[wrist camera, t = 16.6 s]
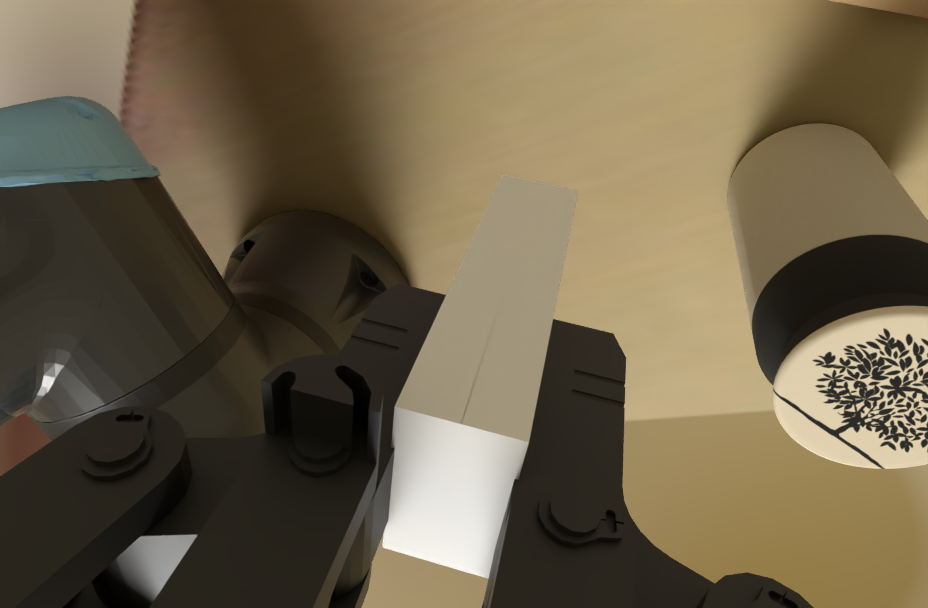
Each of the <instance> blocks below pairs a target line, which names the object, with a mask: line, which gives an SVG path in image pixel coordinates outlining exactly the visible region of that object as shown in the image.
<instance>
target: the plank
mask: <svg viewBox="0 0 928 608" xmlns="http://www.w3.org/2000/svg"><path fill="white" fill-rule="evenodd" d="M829 1H834V2H840V3H846V4H851V5H857V6H862V7H868V8H874V9H879V10H885V11H890V12H896V13H902V14H907V15H913V16H918V17H924V18H928V0H829Z"/></svg>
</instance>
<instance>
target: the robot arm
mask: <svg viewBox="0 0 928 608" xmlns="http://www.w3.org/2000/svg"><path fill="white" fill-rule="evenodd" d="M160 175H161V174H160V172H159V170H158V168H157V167H154V166H152V165H150V164H149V162H148V161H147V160H146V158H145V157H144V155H143V154H142V153H141V151H140V150H139V149H138V147H137V146H136V144H135V143H134V142H133V140H132V139H131V137H130V136H129V135H128V133H127V132H126V130H125V129H124V127H123V126H122V125H121V123H120V122H119V120H118V119H117V118H116V117H115V116H114V114H112V112H110V111H109V110H108V109H107V108H106V107H104V106H102V105H101V104H99V103H97V102H95V101H93V100H90V99H87V98H83V97H74V96H73V97H72V96H62V97H54V98H47V99H42V100H37V101H32V102H27V103H22V104H18V105H12V106H8V107H3V108H0V427H1V426H3V425H4V424H6V423H7V422H9V421H10V420H12V419H13V418H15V417H17V416H18V415H20V414H23V413H26V414H27V415H28V416H29V417H30V418H31V419H32V420H33V421H34V422H35V424H36V425H37V426H38V427H39V428H40V429H41V430H42V431H43V432H44V433H45V434H46V435H47V436H48V437H49V438H50V439H51V440H52V441H51V442H50V443H49V444H47V445H46V446H44V447H43V448H41V449H40V450H38V451H37V452H35V453H34V454H32V455H31V456H30V457H28V458H27V459H25V460H24V461H22V462H21V463H19V464H18V465H17V466H15V467H14V468H12V469H11V470H9V471H8V472H6V473H5V474H3V475H2V476H0V608H361V607H362V604H363V602H364V599H365V596H366V594H367V591H368V588H369V581H370V575H371V566H372V561H373V558H374V556H375V553H376V550H377V548H378V545H379V543H380V540H381V538H382V535H383V532H384V537H383V548H387V549H390V550H393V551H397V552H400V553H403V554H407V555H410V556H413V557H417V558H420V559H424V560H427V561H430V562H434V563H437V564H441V565H444V566H447V567H451V568H455V569H458V570H461V571H464V572H468V573H471V574H474V575H478V576H482V577H485V578H488V584H487V588H486V593H485V597H484V602H483V605H482V608H813V607H812V606H811V605H810V604H809V603H808V602H807V601H806V600H805V599H804V598H803V597H802V596H801V595H800V594H798V593H797V592H795V591H793V590H791V589H789V588H787V587H786V586H784V585H782V584H781V583H779V582H777V581H775V580H774V579H771V578H767V577H762V576H759V575H755V574H751V573H741V574H734V575H726V576H724V577H723V578H722V579H720V580H719V581H718V582H716V583H715V584H714V583H713V582H711V581H709V580H707V579H706V578H704V577H703V576H701V575H699V574H698V573H696V572H694V571H693V570H691V569H689V568H687V567H686V566H684V565H682V564H681V563H679V562H677V561H676V560H674V559H672V558H671V557H669V556H668V555H667V554H665V553H663V552H662V551H661V550H660V549H658V548H657V547H655V546H654V545H653V544H652V543H651V542H650V541H649V540H648V539H647V538H646V537H645V536H644V535H643V534H642V533H641V532H640V530H639V529H638V527H637V526H636V524H635V523H634V521H633V520H632V518H631V517H630V514H629V512H628V509H627V507H626V504H625V502H624V497H623V488H622V476H623V442H624V440H623V438H624V403H625V387H624V385H625V372H626V357H625V355H624V353H623V351H622V349H621V348H620V346H619V344H618V342H617V340H616V338H615V336H614V334H612V333H608V332H604V331H600V330H596V329H592V328H588V327H584V326H580V325H575V324H571V323H567V322H563V321H559V320H555V319H553V317H554V312H555V307H556V301H557V296H558V291H559V286H560V281H561V276H562V271H563V266H564V261H565V255H566V250H567V245H568V240H569V235H570V230H571V225H572V220H573V215H574V209H575V204H576V199H577V194H578V190H575V189H570V188H565V187H561V186H556V185H552V184H547V183H543V182H538V181H533V180H529V179H524V178H520V177H515V176H510V175H506V174H502V175H501V178H500V180H499V182H498V184H497V186H496V188H495V191H494V193H493V195H492V197H491V199H490V201H489V203H488V206H487V208H486V210H485V212H484V214H483V216H482V219H481V221H480V223H479V225H478V227H477V229H476V232H475V234H474V236H473V238H472V240H471V242H470V245H469V247H468V249H467V251H466V253H465V255H464V258H463V260H462V262H461V264H460V266H459V268H458V271H457V273H456V275H455V277H454V279H453V281H452V284H451V286H450V288H449V290H448V292H447V294H446V295H443V294H439V293H435V292H431V291H427V290H423V289H419V288H415V287H410V286H408V284H407V281H406V279H405V277H404V275H403V273H402V271H401V270H400V268H399V267H398V265H397V264H396V262H395V261H394V260H393V258H392V257H391V256H390V255H389V253H388V252H387V251H386V250H385V249H384V248H383V247H382V246H381V245H380V244H379V243H378V242H376V241H375V240H374V239H373V238H372V237H370V236H369V235H368V234H366V233H365V232H363V231H362V230H360V229H359V228H357V227H355V226H354V225H352V224H350V223H348V222H346V221H344V220H341V219H339V218H336V217H334V216H331V215H327V214H323V213H319V212H312V211H289V212H283V213H279V214H276V215H273V216H271V217H269V218H267V219H265V220H264V221H262V222H261V223H259V224H258V225H257V226H256V227H255V228H254V229H252V230H251V231H250V232H249V233H248V234H247V235H246V236H245V237H244V238H243V239H242V240H241V241H240V242H239V243H238V244H237V246H236V247H235V249H234V250H233V252H232V254H231V256H230V258H229V261H228V263H227V266H226V268H225V271H224V273H223V275H222V276H221V275H220V273H219V272H218V270H217V269H216V267H215V265H214V264H213V262H212V261H211V259H210V258H209V256H208V255H207V253H206V251H205V250H204V248H203V247H202V245H201V244H200V242H199V240H198V239H197V237H196V236H195V234H194V233H193V231H192V229H191V228H190V226H189V225H188V223H187V222H186V220H185V218H184V217H183V215H182V214H181V212H180V211H179V209H178V207H177V206H176V204H175V203H174V201H173V200H172V198H171V196H170V195H169V193H168V192H167V190H166V189H165V187H164V186H163V184H162V182H161V181H160V179H159V178H158V176H160Z"/></svg>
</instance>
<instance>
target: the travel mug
mask: <svg viewBox="0 0 928 608" xmlns="http://www.w3.org/2000/svg"><path fill="white" fill-rule="evenodd" d="M727 202H728V209H729V214H730V219H731V225H732V230H733V235H734V240H735V245H736V251H737V256H738V261H739V266H740V271H741V277H742V282H743V287H744V292H745V297H746V303H747V308H748V313H749V318H750V323H751V329H752V334H753V339H754V344H755V349H756V355H757V359H758V362H759V365H760V367H761V370H762V371H763V373H764V375H765V376H766V378H767V379H768V380H769V382H770V383H771V384H772V385H773V391H772V399H773V406H774V410H775V413H776V416H777V418H778V420H779V422H780V423H781V425H782V426H783V428H784V429H785V431H786V432H787V433H788V434H789V435H790V436H791V437H792V438H793V439H794V440H795V441H796V442H798V443H799V444H800V445H802V446H803V447H805V448H806V449H808V450H809V451H811V452H813V453H815V454H817V455H819V456H821V457H824V458H826V459H829V460H832V461H835V462H839V463H842V464H846V465H852V466H857V467H865V468H878V469H879V468H882V469H886V468H887V469H891V468H905V467H912V466H919V465H924V464H928V220H927V219H926V218H925V216H924V215H923V213H922V212H921V211H920V209H919V208H918V207H917V205H916V204H915V203H914V201H913V200H912V199H911V197H910V196H909V195H908V193H907V192H906V191H905V189H904V188H903V187H902V185H901V184H900V183H899V181H898V180H897V179H896V177H895V176H894V175H893V173H892V172H891V171H890V169H889V168H888V167H887V165H886V164H885V163H884V161H883V160H882V159H881V157H880V156H879V155H878V153H877V152H876V151H875V149H874V148H873V147H872V146H871V144H870V143H869V142H868V141H867V140H866V139H864V138H863V137H862V136H861V135H859V134H857V133H856V132H854V131H852V130H849V129H847V128H844V127H841V126H837V125H832V124H822V123H814V124H804V125H798V126H794V127H790V128H787V129H784V130H782V131H779V132H777V133H775V134H773V135H771V136H769V137H767V138H766V139H764V140H763V141H761V142H760V143H758V144H757V145H756V146H755V147H753V148H752V149H751V150H750V151H749V152H748V153H747V154H746V155H745V156H744V158H743V159H742V160H741V161H740V163H739V164H738V166H737V167H736V169H735V171H734V173H733V175H732V177H731V180H730V183H729V187H728V195H727Z"/></svg>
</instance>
